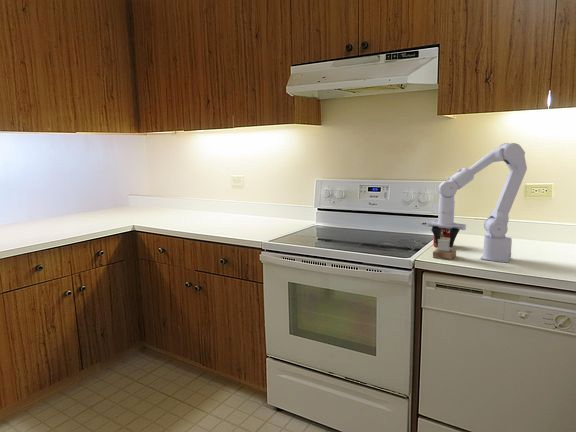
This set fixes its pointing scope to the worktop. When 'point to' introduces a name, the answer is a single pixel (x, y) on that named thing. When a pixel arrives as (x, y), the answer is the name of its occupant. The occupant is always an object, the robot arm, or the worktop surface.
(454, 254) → the walnut block
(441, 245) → the tea tin
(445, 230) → the canned food
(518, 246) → the worktop surface
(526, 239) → the worktop surface
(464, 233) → the worktop surface
